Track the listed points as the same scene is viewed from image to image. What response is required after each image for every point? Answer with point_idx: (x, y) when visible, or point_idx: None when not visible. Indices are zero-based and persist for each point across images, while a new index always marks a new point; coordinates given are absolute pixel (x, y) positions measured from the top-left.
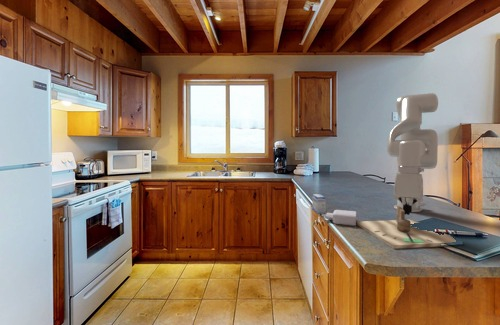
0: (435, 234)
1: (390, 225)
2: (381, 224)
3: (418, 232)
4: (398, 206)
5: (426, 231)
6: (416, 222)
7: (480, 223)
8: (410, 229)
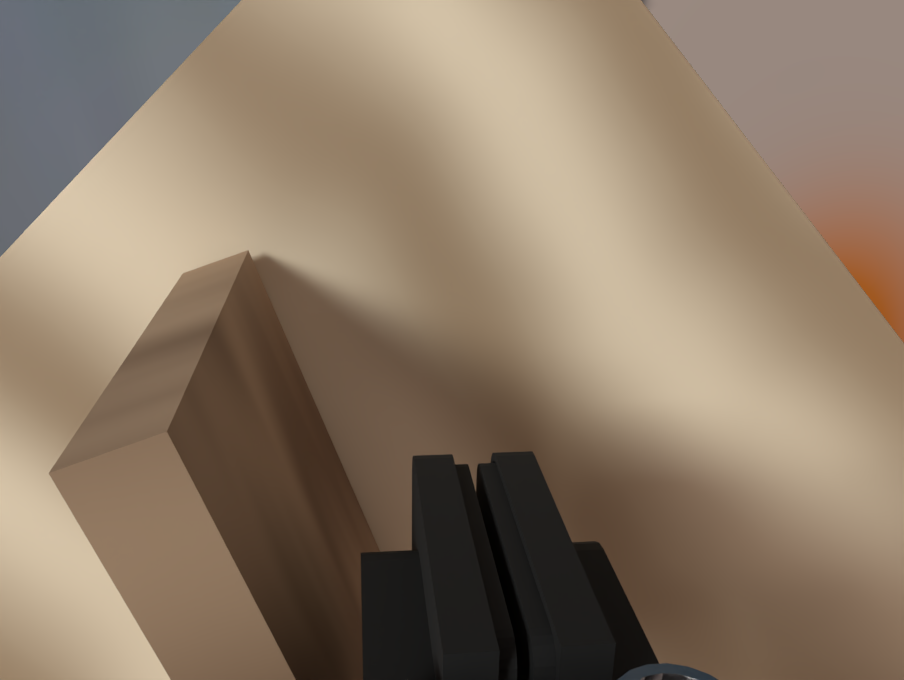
0: (873, 612)
1: None
2: (7, 647)
3: None
4: (164, 593)
5: (761, 554)
6: (599, 31)
7: None
8: None
